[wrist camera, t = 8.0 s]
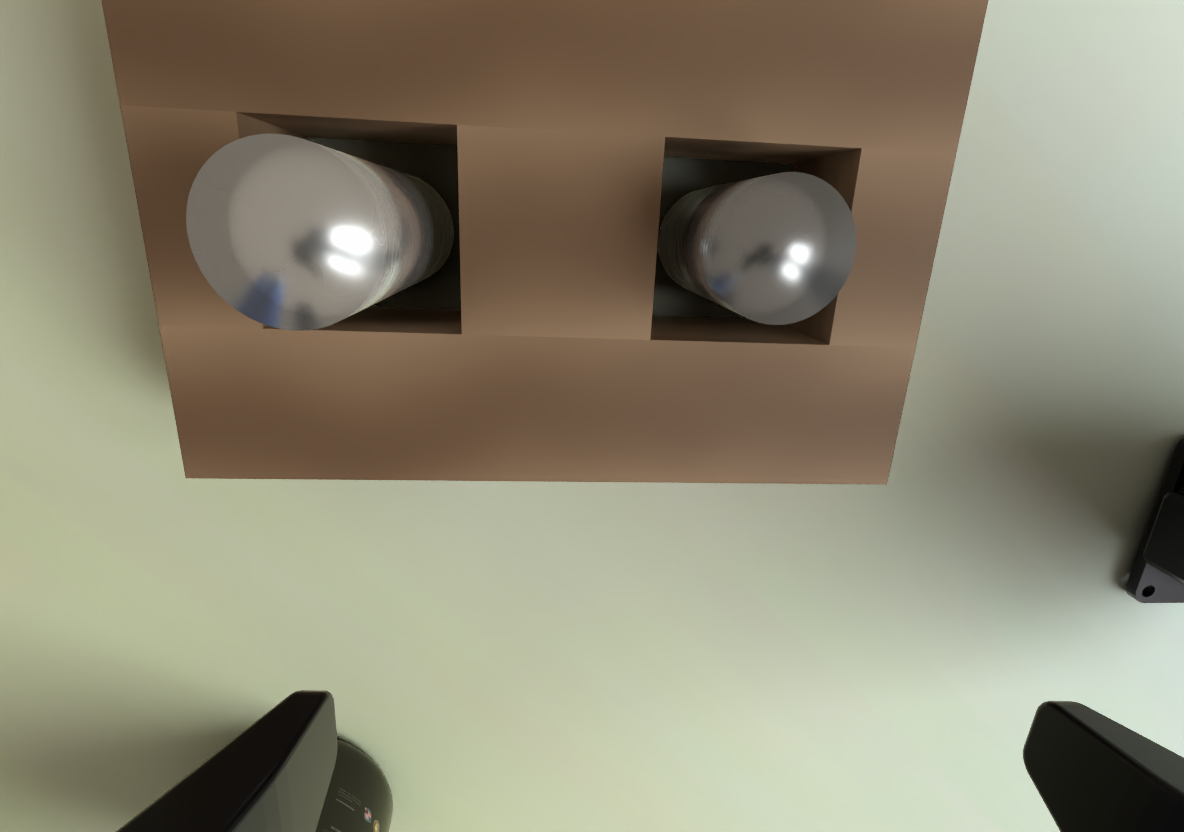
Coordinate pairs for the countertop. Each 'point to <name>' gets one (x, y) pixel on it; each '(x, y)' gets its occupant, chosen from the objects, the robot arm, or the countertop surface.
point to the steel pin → (311, 230)
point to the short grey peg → (762, 245)
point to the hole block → (554, 230)
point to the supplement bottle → (356, 795)
